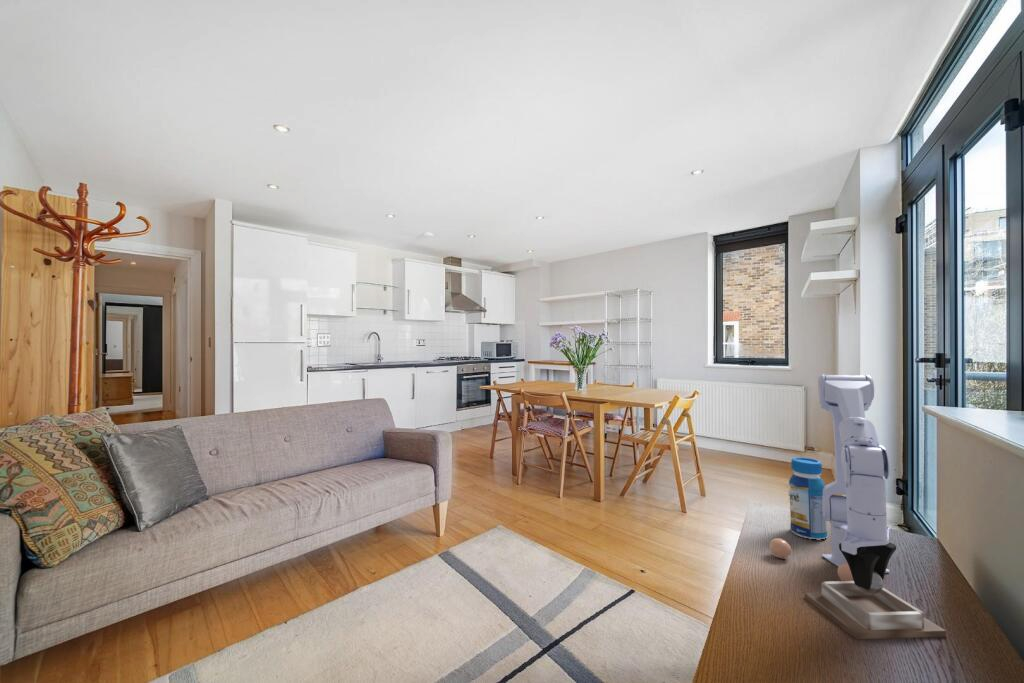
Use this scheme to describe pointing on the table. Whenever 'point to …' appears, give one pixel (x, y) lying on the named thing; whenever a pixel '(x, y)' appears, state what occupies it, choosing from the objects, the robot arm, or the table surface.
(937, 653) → the table surface
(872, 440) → the robot arm
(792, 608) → the table surface
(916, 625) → the holder board
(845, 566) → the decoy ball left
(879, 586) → the steel ball
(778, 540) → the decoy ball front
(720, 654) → the table surface
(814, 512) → the beverage bottle
